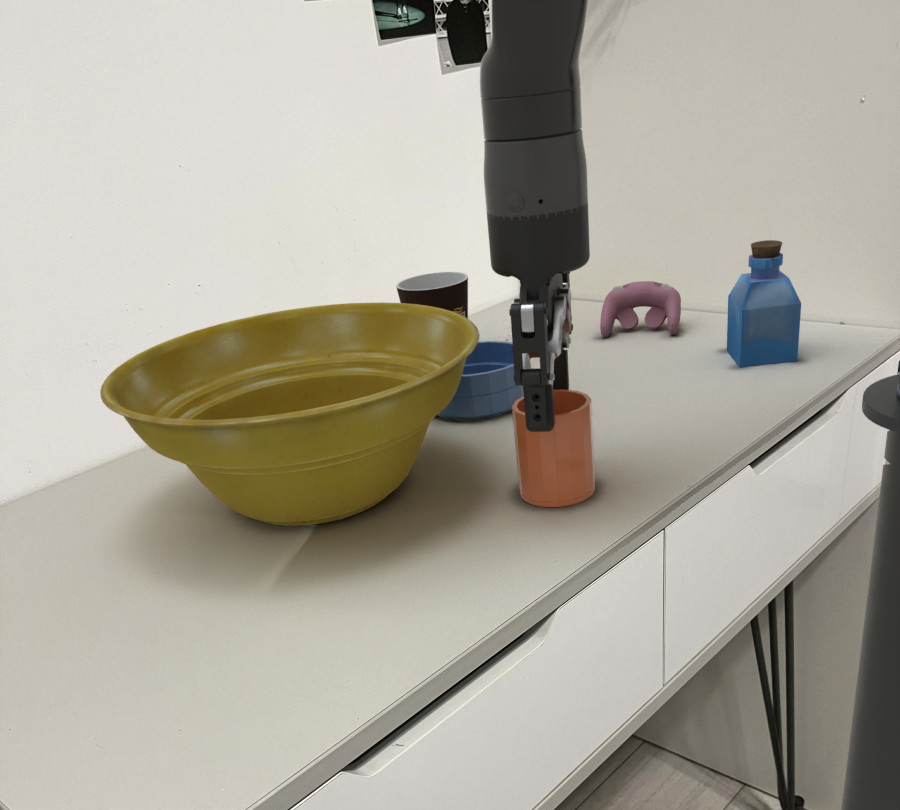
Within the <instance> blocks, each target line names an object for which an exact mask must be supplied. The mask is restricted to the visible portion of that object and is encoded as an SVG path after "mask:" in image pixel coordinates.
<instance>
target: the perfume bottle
mask: <svg viewBox="0 0 900 810" xmlns="http://www.w3.org/2000/svg"><path fill="white" fill-rule="evenodd" d="M782 245H783V242H782V241H781V240H777V239H776V240H773V239H768V240H767V239H766V240H759V241H754V242H752V243H750V248H751V254H749V256H748V268H750V272H748V273H741V274H740V276H739V277H738V279H737V281H736V282H735V284H734V286H733V287H732V289H731V290H730V292H729V294H728V296H727V323H726V324H727V329H726V352H727V353H728V354H729V356H730V357H731V358H732V359H733V361H734V362H735V364H736V365H737V366H738V367H739V368H743V367H752V366H761V365H772V364H780V363H790V362H798V358H799V345H800V331H801V316H802V315H801V314H802V313H801V312H802V301H801V300H800V297H799V295H798V293H797V291H796V288H795V287H794V285H793V283H792V281H791V279H790V276H787V275H786V274H785V273H784V272H782V271H781V269H780V267H781V266H782V265H783V262H784V253H782V252H781V249H782Z"/></svg>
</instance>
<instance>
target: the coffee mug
mask: <svg viewBox="0 0 900 810" xmlns="http://www.w3.org/2000/svg"><path fill="white" fill-rule="evenodd" d="M395 287H396V291H397V294H398V299H399V303H407V304H418V305H425V306H432V307H437V308H441V309H445V310H449V311H452V312H455V313H458V314H460V315H462V316H464V317H466V318H467V319H469V276H468V274H467V273H465V272H459V271H439V272H431V273H430V272H429V273H423V274H419V275H414V276H411V277H408V278H405V279H402V280H400V281H399V282H397V283H396V286H395Z"/></svg>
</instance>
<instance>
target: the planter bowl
mask: <svg viewBox="0 0 900 810" xmlns="http://www.w3.org/2000/svg"><path fill="white" fill-rule="evenodd" d="M479 341H480V331H479V329H478V327H477V326H476V324H475V323H474V322H473V321H472V320H470V319H469V318H468V319H467V318H466V317H464V316H462V315H460V314H458V313H455V312H452V311H449V310H445V309H441V308H437V307H432V306H425V305H418V304H407V303H400V302H348V303H334V304H321V305H315V306H313V305H312V306H306V307H305V306H304V307H298V308H291V309H284V310H278V311H273V312H268V313H267V312H266V313H262V314H257V315H253V316H247V317H242V318H239V319H234V320H230V321H226V322H222V323H218V324H215V325H211V326H207V327H203V328H201V329H197V330H194V331H191V332H187V333H185V334H182V335H179V336H176V337H173V338H170V339H168V340H165V341H163V342H161V343H158V344H156V345H154V346H151V347H149V348H147V349H145V350H143V351H141V352H139V353H136V354H135V355H133V356H131V357H130V358H128V359H127V360H126V361H124V362H123V363H122V364H120V365H118V366H117V367H116V368H115V369H114V370H113V371H112V372H110V373H109V375H108V376H106V378H105V380H104V381H103V383H102V384H101V388H100V389H99V392H100V393H99V394H100V399H101V401H102V403H103V404H104V406H105V407H107V409H109V410H110V411H112V412H114V413H116V414H117V415H119V416H122V417H123V418H124V419H125V421H126V422H127V424H128V425H129V426H130V428H131V429H132V430H133V431H134V432H135V434H136V435H137V436H138V437H139V438H140V439H141V440H142V441H143V442H144V443H145V444H146V445H147V446H148V447H149V448H150V449H151V450H153V451H154V452H156V453H157V454H159V455H161V456H163V457H164V458H167V459H170V460H172V461H175V462H179V463H181V464H183V465H186V467H187V468H188V470H190V472H191V473H192V474H193V475H194V476H195V477H196V478H197V480H199V482H200V483H201V484H202V485H203V487H205V488H206V489H207V490H208V491H209V492H210V493H211V494H212V495H214V497H216V498H217V500H219V501H220V502H222V503H223V504H224V505H225V506H226V507H227V508H228V509H230V510H232V511H234V512H235V513H236V514H240V515H242V516H244V517H247V518H251V519H254V520H256V521H258V522H259V521H260V522H261V523H266V524H270V525H276V526H277V525H278V526H290V527H291V526H292V527H293V526H294V527H297V526H312V525H318V524H326V523H330V522H335V521H338V520H341V519H346V518H349V517H351V516H354V515H357V514H360V513H362V512H364V511H366V510H368V509H371V508H372V507H374V506H376V505H377V504H379V503H380V502H382V501H383V500H384V499H386V498H387V497H388V496H389V495H390V494H391V493H392V492H394V491H395V490H396V489H397V488H399V487H400V485H401V484H403V482H404V481H405V480H406V478H407V477H408V475H409V473H410V471H411V469H412V467H413V465H414V464H415V461H416V460H417V457H418V455H419V453H420V450H421V449H422V446H423V444H424V441H425V438H426V435H427V432H428V429H429V426H430V424H431V421H432V420H433V419H434V418H435V417H436V416H438V415H437V414H439V413H440V412H441V411H442V410H443V409H444V408H445V407H446V406H447V405H448V404H449V403H450V401H451V400H452V398H453V397H454V395H455V393H456V391H457V388H458V386H459V383H460V380H461V377H462V374H463V370H464V366H465V362H466V358H467V357H468V356H469V355H470V354H471V353H472V352H473V350H474V349H475V347H476V346H477V344H478V342H479Z"/></svg>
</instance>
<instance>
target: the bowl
mask: <svg viewBox="0 0 900 810" xmlns="http://www.w3.org/2000/svg"><path fill="white" fill-rule="evenodd" d="M529 369H532V366H531V359H530V360H529ZM523 396H524V392H523V386H516V384H515V381H514V360H513V344H512V341H505V340H504V341H503V340H479V341H478V344H477V346H476V347H475V349H474V350H473V352H472V353H471V354H470V355H469V356H468V357H467V358H466V362H465V366H464V370H463V374H462V377H461V380H460V383H459V386H458V388H457V391H456V393H455V395H454V397H453V398H452V400H451V401H450V403H449V404H448V405H447V406H446V407H445V408H444V409H443V410H442V411H441V412H440V413H439V414H437V415H436V416H438V417H441V418H444V419H449V420H458V421H459V420H463V421H464V420H465V421H466V420H467V421H468V420H481V419H487V418H493V417H497V416H499V415H503V414H508V413H509V412H512V406H513V404H514V402H515V401H516V400H518V399H520V398H521V397H523Z"/></svg>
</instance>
